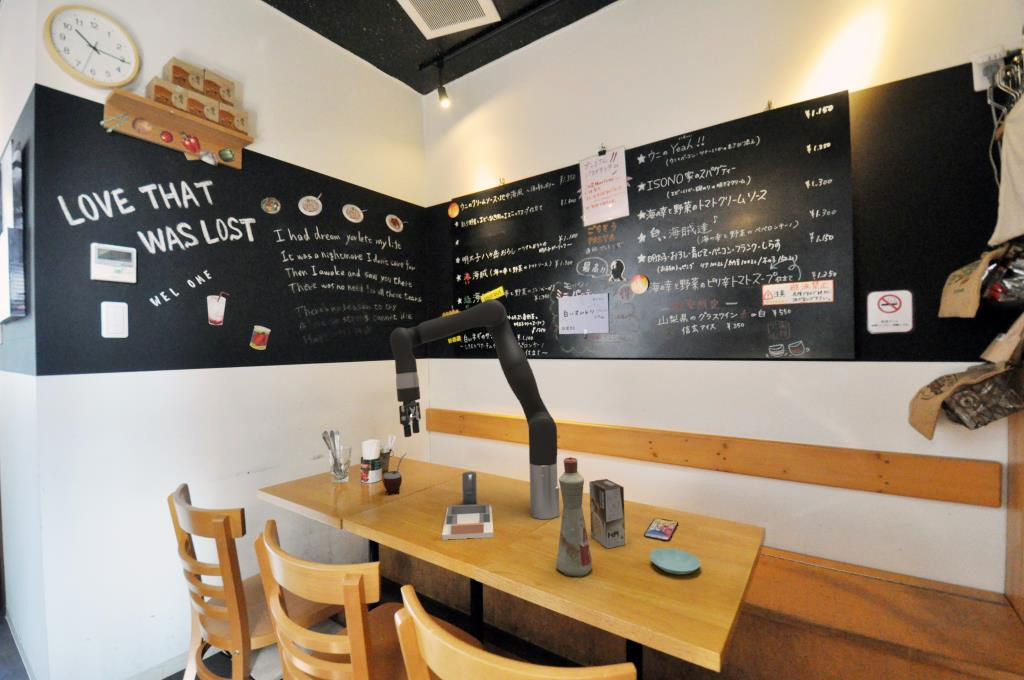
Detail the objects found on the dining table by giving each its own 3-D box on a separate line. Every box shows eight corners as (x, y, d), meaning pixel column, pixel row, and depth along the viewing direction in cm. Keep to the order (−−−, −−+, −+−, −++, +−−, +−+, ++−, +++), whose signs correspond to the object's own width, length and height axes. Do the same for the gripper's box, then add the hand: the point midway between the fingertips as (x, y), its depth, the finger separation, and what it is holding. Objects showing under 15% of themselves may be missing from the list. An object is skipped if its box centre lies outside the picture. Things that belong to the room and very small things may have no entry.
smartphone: (642, 535, 128) (654, 517, 141) (642, 538, 128) (654, 520, 141) (669, 540, 124) (678, 521, 137) (669, 543, 124) (679, 524, 137)
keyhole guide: (491, 510, 152) (491, 498, 152) (493, 537, 130) (493, 523, 130) (447, 512, 151) (447, 500, 151) (441, 540, 129) (441, 526, 129)
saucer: (707, 566, 111) (706, 557, 111) (690, 585, 102) (689, 575, 102) (661, 552, 118) (661, 544, 119) (641, 569, 110) (641, 560, 110)
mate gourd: (379, 495, 171) (379, 456, 171) (392, 489, 178) (392, 451, 178) (395, 497, 168) (394, 457, 168) (407, 490, 175) (407, 452, 175)
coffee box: (626, 545, 123) (625, 487, 123) (606, 549, 121) (605, 490, 121) (608, 532, 132) (606, 478, 132) (589, 536, 129) (588, 481, 130)
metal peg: (476, 501, 161) (476, 471, 161) (476, 506, 156) (476, 475, 156) (463, 502, 160) (462, 471, 161) (462, 507, 155) (462, 475, 156)
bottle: (553, 561, 114) (550, 453, 115) (587, 559, 115) (585, 451, 116) (559, 579, 106) (556, 461, 106) (596, 576, 106) (593, 460, 107)
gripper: (411, 386, 142) (416, 437, 141) (424, 384, 156) (429, 430, 155) (389, 388, 142) (393, 439, 141) (404, 386, 157) (408, 432, 155)
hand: (412, 434), depth 148 cm, fingers open, 8 cm apart
